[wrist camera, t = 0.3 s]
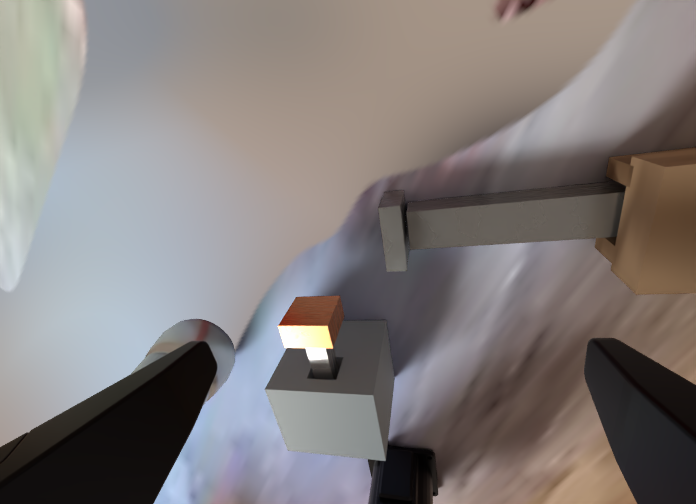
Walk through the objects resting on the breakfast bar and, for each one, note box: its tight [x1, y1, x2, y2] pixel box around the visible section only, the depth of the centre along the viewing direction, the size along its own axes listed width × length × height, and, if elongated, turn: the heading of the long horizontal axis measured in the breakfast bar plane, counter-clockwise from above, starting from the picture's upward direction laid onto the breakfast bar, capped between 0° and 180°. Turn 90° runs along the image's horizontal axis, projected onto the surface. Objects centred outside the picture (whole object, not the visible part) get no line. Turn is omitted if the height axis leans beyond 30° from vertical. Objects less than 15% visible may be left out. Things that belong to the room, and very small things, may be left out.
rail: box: [378, 181, 626, 272], centre depth 17 cm, size 4×21×3 cm, turn 102°
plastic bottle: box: [131, 319, 235, 405], centre depth 21 cm, size 6×7×20 cm
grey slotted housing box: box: [265, 320, 395, 461], centre depth 24 cm, size 6×7×7 cm
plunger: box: [278, 296, 344, 380], centre depth 21 cm, size 7×3×3 cm, turn 12°
